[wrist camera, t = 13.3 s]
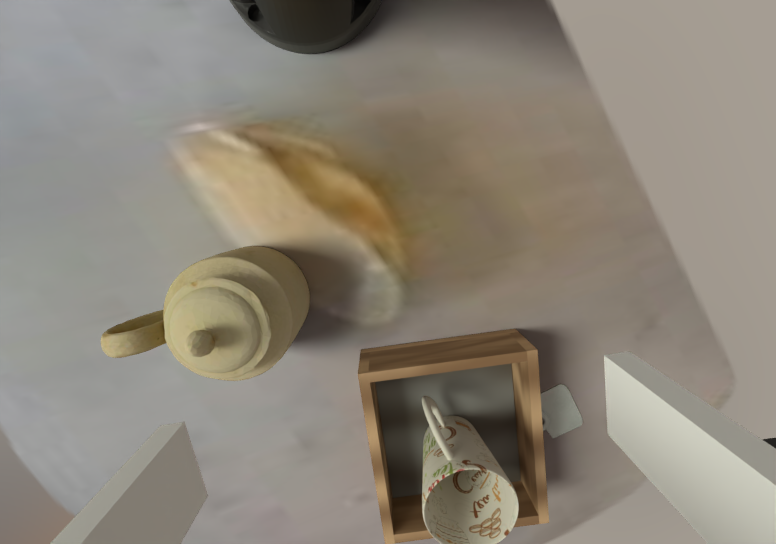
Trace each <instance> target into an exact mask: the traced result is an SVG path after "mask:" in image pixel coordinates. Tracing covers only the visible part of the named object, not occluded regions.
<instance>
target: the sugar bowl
mask: <svg viewBox="0 0 776 544" xmlns="http://www.w3.org/2000/svg"><path fill="white" fill-rule="evenodd" d="M309 305H310V293H309V288H308V284H307V281H306V279H305V277H304V275H303V273H302V271H301V270H300V268H299V267H298V266H297V265H296V263H295V262H293V261H292V260H291V259H290V258H289V257H287V256H286V255H284V254H282V253H281V252H279V251H276V250H274V249H271V248H267V247H260V246H250V247H243V248H239V249H235V250H232V251H228V252H224V253H221V254H218V255H215V256H212V257H209V258H207V259H204V260H201V261H199V262H197V263H195V264H193V265H191V266H190V267H188V268H187V269H186V270H184V271H183V272H182V273H180V275H179V276H178V277H177V278H176V279H175V280H174V282H173V283H172V285H171V286H170V288H169V290H168V293H167V295H166V299H165V303H164V310H161V311H156V312H153V313H150V314H146V315H143V316H140V317H137V318H135V319H132V320H129V321H126V322H124V323H122V324H118V325H116V326H114V327H112V328H110V329H108V330H107V331H106V332H104V333H103V335H102V337H101V346H102V349H103V351H104V352H105V353H106V354H107V355H108V356H109V357H113V358H120V357H127V356H130V355H135V354H139V353H142V352H145V351H148V350H151V349H153V348H155V347H158V346H160V345H162V344H165V343H167V345H168V347H169V348H170V350H171V352H172V353H173V355H174V356H175V358H176V359H177V360H178V361H179V362H180V363H182V364H183V365H184V366H185V367H186V368H188V369H189V370H191V371H193V372H195V373H196V374H199V375H201V376H205V377H208V378H214V379H220V380H229V381H237V380H244V379H249V378H252V377H255V376H257V375H260V374H262V373H264V372H266V371H267V370H269V369H270V368H271V367H273V366H274V365H275V364H276V363H277V362H278V361H279V360H280V359H281V358H282V356H283V355H284V354H285V352H286V351H287V349H288V348H289V347H290V345H291V343H292V342H293V341H294V339H295V337H296V336H297V334H298V332H299V330H300V328H301V327H302V325H303V323H304V321H305V319H306V317H307V314H308V310H309Z"/></svg>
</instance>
